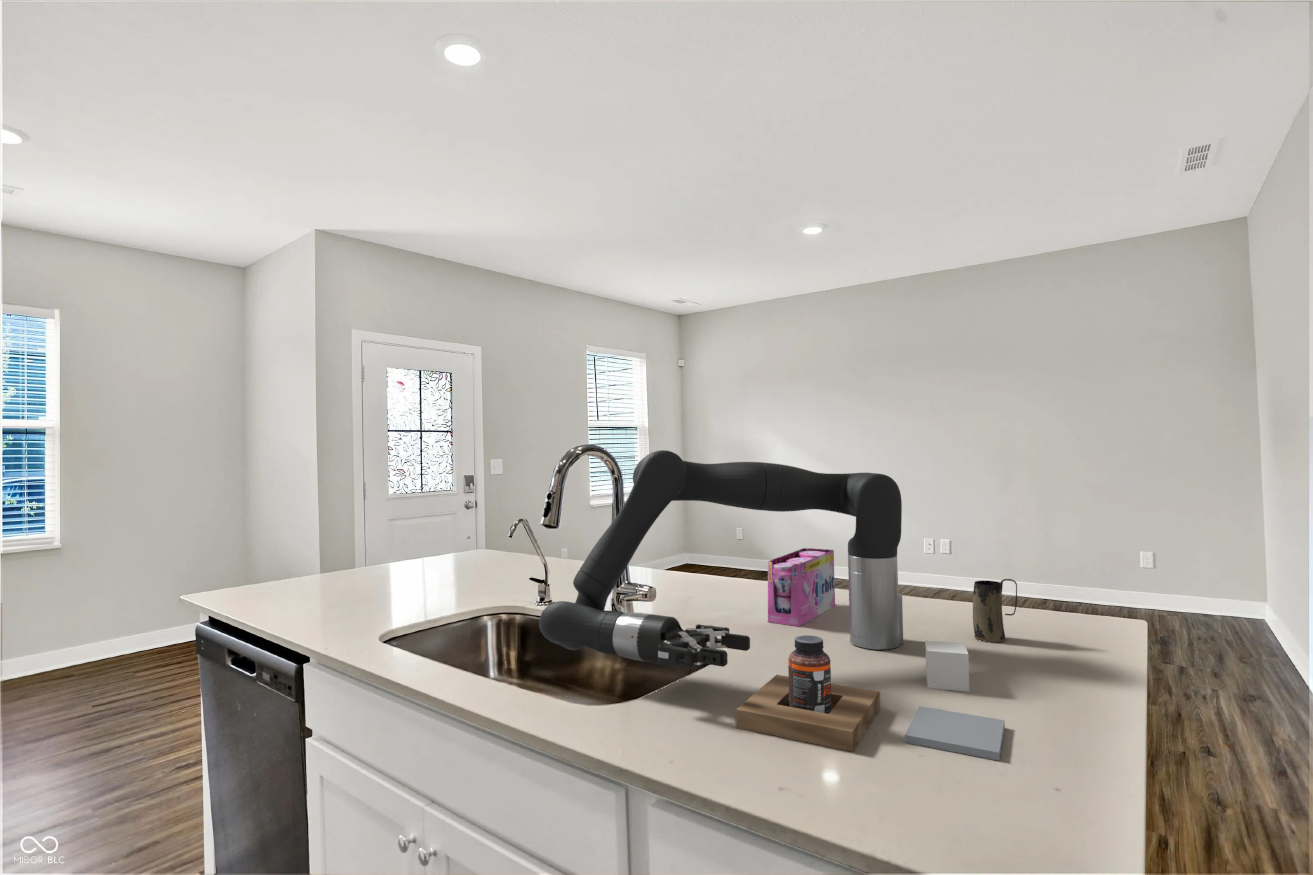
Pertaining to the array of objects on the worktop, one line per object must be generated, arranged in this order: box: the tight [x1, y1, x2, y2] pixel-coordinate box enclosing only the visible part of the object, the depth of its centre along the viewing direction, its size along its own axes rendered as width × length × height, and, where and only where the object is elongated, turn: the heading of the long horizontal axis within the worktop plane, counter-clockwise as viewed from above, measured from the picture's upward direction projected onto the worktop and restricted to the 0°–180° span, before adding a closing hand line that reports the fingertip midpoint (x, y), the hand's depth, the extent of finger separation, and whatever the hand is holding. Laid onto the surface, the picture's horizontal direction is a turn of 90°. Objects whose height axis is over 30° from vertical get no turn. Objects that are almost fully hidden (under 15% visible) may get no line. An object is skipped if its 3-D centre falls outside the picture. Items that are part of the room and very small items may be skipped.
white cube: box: [924, 640, 970, 693], centre depth 109 cm, size 6×6×6 cm
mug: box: [972, 578, 1018, 644], centre depth 133 cm, size 8×6×12 cm
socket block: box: [735, 674, 881, 752], centre depth 97 cm, size 16×16×2 cm
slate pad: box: [904, 705, 1006, 762], centre depth 90 cm, size 11×11×1 cm
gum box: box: [767, 547, 836, 628], centre depth 156 cm, size 24×8×14 cm, turn 146°
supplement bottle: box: [787, 634, 832, 714], centre depth 97 cm, size 6×6×11 cm
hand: (738, 650), depth 102 cm, fingers open, 8 cm apart
